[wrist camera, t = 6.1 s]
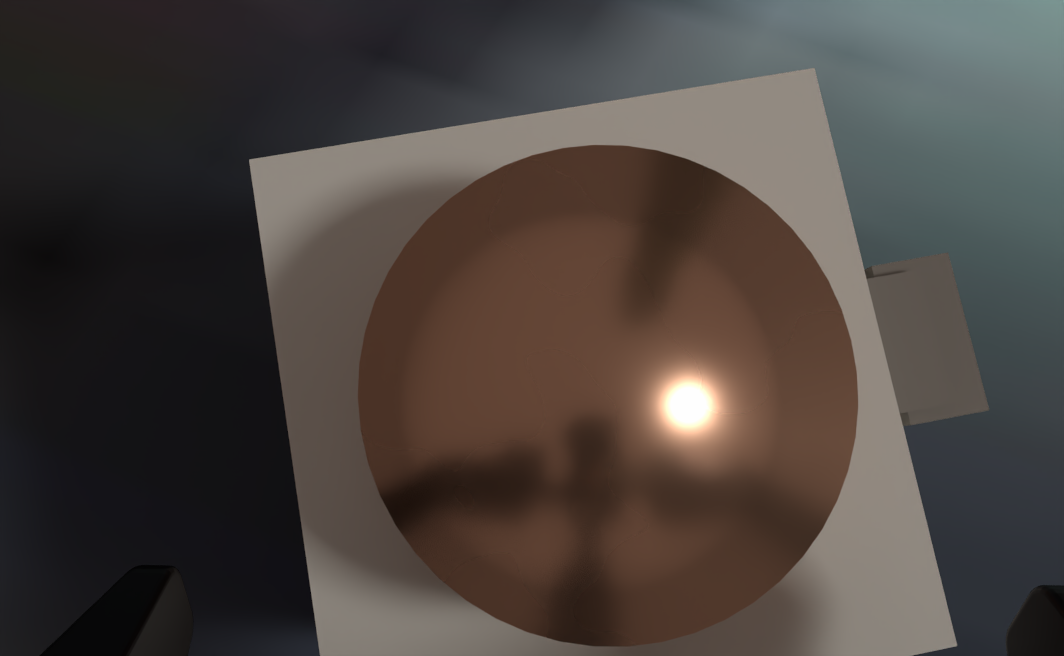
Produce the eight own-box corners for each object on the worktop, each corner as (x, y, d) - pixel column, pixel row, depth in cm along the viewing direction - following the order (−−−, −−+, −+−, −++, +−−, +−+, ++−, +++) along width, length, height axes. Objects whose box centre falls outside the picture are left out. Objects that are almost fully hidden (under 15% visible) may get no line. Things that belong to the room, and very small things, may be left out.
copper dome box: (843, 551, 19) (1088, 618, 11) (407, 638, 18) (337, 775, 10) (764, 209, 20) (935, 48, 12) (351, 280, 19) (249, 159, 12)
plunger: (738, 534, 16) (911, 590, 9) (444, 592, 16) (402, 694, 9) (677, 248, 17) (795, 109, 10) (395, 297, 16) (322, 187, 10)
